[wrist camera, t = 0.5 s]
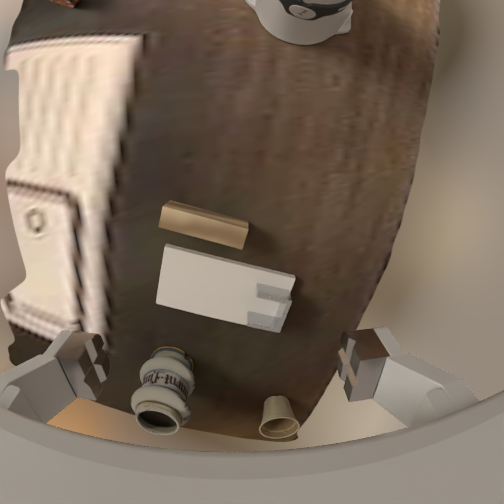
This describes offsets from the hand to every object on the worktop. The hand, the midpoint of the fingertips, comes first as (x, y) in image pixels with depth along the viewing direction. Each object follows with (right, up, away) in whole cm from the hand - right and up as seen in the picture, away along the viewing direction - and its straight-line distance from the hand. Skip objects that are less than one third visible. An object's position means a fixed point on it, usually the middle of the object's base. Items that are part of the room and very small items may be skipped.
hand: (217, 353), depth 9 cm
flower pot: (+7, -35, +59) cm, 69 cm away
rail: (-7, +9, +42) cm, 43 cm away
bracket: (-4, -4, +46) cm, 47 cm away
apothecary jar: (-17, -22, +53) cm, 60 cm away
